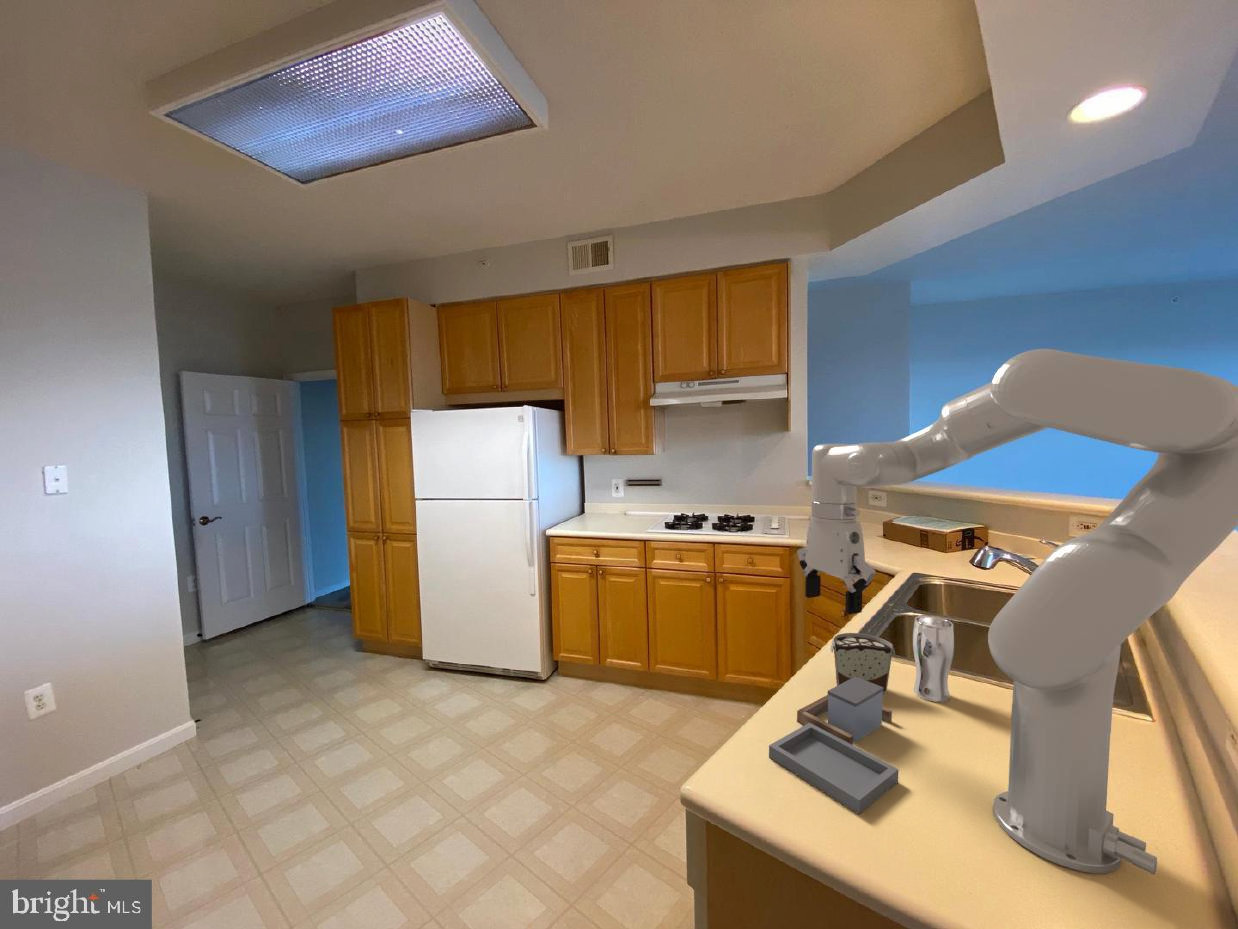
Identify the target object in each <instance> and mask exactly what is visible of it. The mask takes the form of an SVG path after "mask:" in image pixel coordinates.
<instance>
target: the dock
mask: <svg viewBox="0 0 1238 929" xmlns="http://www.w3.org/2000/svg"><path fill="white" fill-rule="evenodd" d="M823 711H824V712H826V711H828V694H826V695H825V696H822V697H821V698H819V699H817V700H815V701H813V702H811V703H809V704H807V705H806V706H804V707H802V708H800V709H798V710H796V722H797V723H799V724H801V725H802V726H804V725H806V724H808V723H811V724H813V725H815V726H817V727H819V728H821V729H823V730H825V731H827V732H828V733H830V734H832V735H834V736H836V737H838V738H840V739H842V740H844V741H846V742H848V743H849V744H851V745H853V746H854V742H853V735H851V734H849V733H847V732H845V731H843V730H841V729H839V728H837V727H835V726H833V725H831V724H829V723H828V721H825V720H823V719H821V718H819V717H817V716H819V715H821V714H822V713H824V712H823ZM821 712H822V713H821ZM820 713H821V714H820ZM818 714H819V715H818ZM892 715H893V711H892V710H891V709H889V708H886V707H885V706H882V722H885V723H888V724H890V723H892V719H893V718H892V717H893V716H892Z"/></svg>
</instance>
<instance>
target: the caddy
mask: <svg viewBox="0 0 1238 929" xmlns="http://www.w3.org/2000/svg"><path fill="white" fill-rule="evenodd" d="M883 691H884V688H883V687H881V686H878V685H876V684H873V683H871V682H869V681H866V680H864V679H861V678H859V677H856V676H855V677H853V678H851V679H849V680H847V681H846V682H844V683H842V684H840V685H838V686H837V685H836V686H835V687H833V688H830V689H828V690H827V694H826V695H828V710H827V723H829V724H831V725H833V726H835V727H837V728H839V729H841V730H843V731H845V732H847V733H849V734H851V735H853V744H855V743H858V741H860V740H862V739H863V738H864V737H866V736H867V735H869V734H871V733H872V732H873V731H875V730H876V729H878V728H879V727H881V726H882V725H883V720H882V707H883V697H884V696H883V694H884V693H883Z"/></svg>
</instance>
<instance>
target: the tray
mask: <svg viewBox="0 0 1238 929" xmlns="http://www.w3.org/2000/svg"><path fill="white" fill-rule="evenodd" d="M768 759H771V760H772V761H774V762H775V763H777V764H779V766H782V767H783V768H785V769H787V770H788V771H790V772H791V773H793V774H795V775H796V776H798V777H799V778H801V779H802V780H804V781H806V782H807V783H808V784H810V785H811V786H813V787H815V788H817V789H818V790H820V791H821V792H823V793H824V794H826V795H828V796H830V798H832V799H834V800H835V801H837V802H838V803H840V804H842V805H843V806H845V807H846V808H848V809H850V810H851V811H853V812H854V813H856V814H857V815H860V814H861V813H862V812H864V811H865V810H866V809H868V808H869V807H870V806H871V805H872V804H874V803H875V802H876V801H877V800H878V799H879V798H881V797H882V796H883V795H884V794H885V793H886V792H888V791H889V790H891V788H893V787H894V786H895V785H897V783H899V768H897V767H895V766H893V765H891V764H889V763H887V762H886V761H883V760H882V759H881V758H878V757H876V756H874V755H872V754H870V753H869V752H866V751H864V750H862V749H861V748H859V747H857V746H855V745H854V744H853V745H851V744H849V743H848V742H846V741H844V740H842V739H840V738H838V737H836V736H834V735H832V734H830V733H828V732H827V731H825V730H823V729H821V728H819V727H817V726H815V725H813V724H811V723H808V724H806V725H802V726H800V727H799V728H797V729H795V730H794V731H792V732H790V733H788V734H787V735H784V736H783V737H781V738H779V739H778V740H776V741H774V742H773V743H771V744H769V745H768Z"/></svg>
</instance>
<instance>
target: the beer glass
mask: <svg viewBox="0 0 1238 929" xmlns="http://www.w3.org/2000/svg"><path fill="white" fill-rule="evenodd" d="M954 635H955V634H954V623H953V622H951V621H950V620H948V619H945V618H942V617H938V616H931V615H918V616H915V617H914V624H913V631H912V650H913V657H914V662H915V669H916V670H915V671H916V675H915V682H914V686H913V692H914V694H915V693H916V694H917V695H918V696H917V695H916V694H915V695H916V696H917V697H919V696H920V697H919V698H920V699H923V700H925V699H927V700H926V701H928V700H929V702H932V701H933V703H939V702H942V703H946V702H949V700H950V692H949V686H948V681H949V680H948V678H949V673H950V671H951V666H952V662H953V658H954V651H955V636H954Z"/></svg>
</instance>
